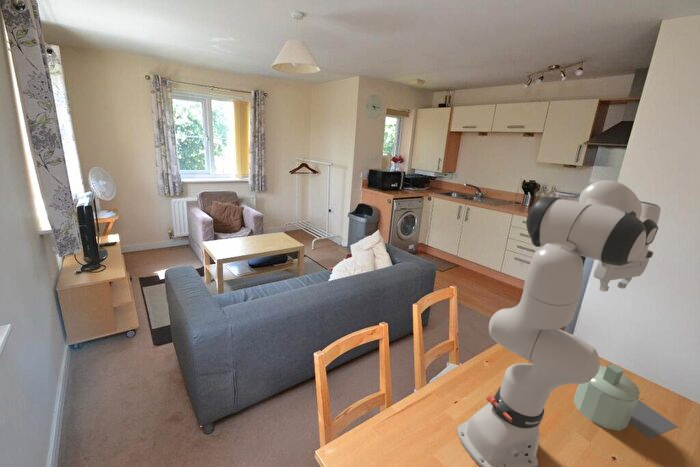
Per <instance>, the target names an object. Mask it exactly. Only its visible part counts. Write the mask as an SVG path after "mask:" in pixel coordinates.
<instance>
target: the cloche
mask: <svg viewBox="0 0 700 467" xmlns="http://www.w3.org/2000/svg"><path fill="white" fill-rule="evenodd" d="M624 371H625V370H623V369H622V368H621V367H619V366H617V365H615V364H614V363H612V364H611V365H610V364H609V365H607V366H603V365H600V367H599V371H598V373H597V375H596V376H595V377H594V378H593V379H592V380H590V381H589V382H586V383H583V384H577V385H578V386H577V387H576V391H575V393H574V397H573V403H574V405H575V407H576V408H577V410H578V412H580V413H581V414H582V415H583V416H584V417H586V418H587V419H588V420H589V421H591V422H592V423H594V424H596V425H599V426H600V427H602V428H604V429H607V430H612V431H618V432H619V431H622V430H624V429H626V428H628V425H629V421H630V418H631V416H632V414H633V411H634V409H635V407H636V404H637V402H638V400H640V395H641V394H640V390H639V386H637V384H635V383H634V382H633V381H632V380H631V379H630V378H629V377H627V376H626V375H625V374H623V373H624Z"/></svg>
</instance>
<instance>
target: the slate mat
mask: <svg viewBox="0 0 700 467" xmlns="http://www.w3.org/2000/svg"><path fill="white" fill-rule="evenodd" d="M628 425H630V426H632V427H633V428H634V429H635V430H637V431H638V432H640V433H641V434H642V435H644V436H645V437H646V438H648V440H652V439H654V438H656V437H658V436H661V435H663V434H665V433H667V432H670V431H671V430H674V429H676V428H678V425H676V424H675V423H673V422H672V421H671V420H669V419H667V418H666V417H665V416H664V415H661V414H660V413H659V412H658V411H656V410H654V409H653V408H651V407H650V406H648V404H646V403H644V402H643V401H641V400H640V399H639V400H638V402H637V404H636V407H635V409H634V411H633V414H632V416H631V418H630V421H629V423H628Z"/></svg>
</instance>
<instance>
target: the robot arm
mask: <svg viewBox="0 0 700 467" xmlns="http://www.w3.org/2000/svg"><path fill="white" fill-rule="evenodd" d="M660 215H661V207H660V205H657V204H655V203H650V202H648V201H647V202H646V201H641V200H640V199H639V198H638V195H636V193H635V192H634V191H633V190H632V189H631V188H629V187H628V186H627V185H624V184H623V183H621V182H619V181H616V180H611V179H609V180H608V179H606V180H605V179H603V180H599V181H594V182H592V183H590V184H589V185H587V186H586V187H585V188H584V189H582V191H581V192H580V195H579V198H578V201H575V200H569V199H562V198H561V197H557V196H544V197H541V198H540V199H538V200H537V201H536V202H534V204H532V206H531V207H530V210H529V211H528V214H527V217H526V221H525V222H526V224H525V225H526V230H527V233H528V236H529V237H530V240H531V244H532V246H534V247H536V248H538V249H537V250H536V251H535V253H534V254H533V256H532V258H531V260H530V263H529V264H528V268H527V271H526V273H525V278H524V279H525V280H524V284H523V290H522V295H521V299H520V301H519V303H518V304H517V305H515V306H512V307H507V308H501V309H499V310H497V311H496V312H494V314H492V316H491V318H490V319H489V323H488V333H489V335H490V337H491V339H492V340H494V342H496V343H498V344H499V345H500V346H502V347H503V348H504V349H505V350H507V351H509V352H510V353H512V354H514V355H516V356H519V357H521V358H523V359H525V361H528V362H530V363H523V362H521V363H520V362H519V363H514V364H511V365H510V366H508V367H507V369H506V370H505V372H504V375H503V379H502V381H501V385H500V386H499V388H498V389H497V390H496V392H495V394H494V396H493V395H492V394H488V395H487V397H486V399H485V400H486V401H487V402H488V403H487V404H485V405H484V406H483V407H482V408H480V409H479V410H478V411H477V412H475V413H474V414H473V415H471V417H470V418H469V419H468V420H466V421H465V422H463V423H460V424H459V425H458V427H457V429H456V431H457V435H458V436H457V437H458V438H459V440H460V442H461V444H462V446H463V447H464V449H465V450H466V452H467V453H468V454H469V456H470V457H471V458H472V459H473V460H474V461H475V462H476V463H477V464H478V465H479V466H480V467H538V465H539V460H538V458H537V454H538V449H539V444H540V439H541V434H540V424H541V423H542V420H543V418H544V415H545V406H546V403H547V401H548V398H549V397H550V396H551V393H553V391H554V390H555V389H557V388H559V387H562V386H564V385H573V384H576V385H578V384H583V383H586V382H589V381H590V380H592V379H593V378H594V377H595V376H596V375H597V373H598V371H599V367H600V366H601V359H600V356H599V352H598V351H597V349H596V348H595V347H593V346H592V345H590V344H589V343H587V342H586V341H584V340H582V339H581V338H579V337H578V336H576V335H574V334H571V333H570V332H568V331H564V330H562V329H561V328H565V327H566V326H567V325H569V324H571V322H573V319H574V317H575V313H576V310H577V307H578V305H579V304H578V303H579V300H580V296H581V293H582V288H583V281H584V261H583V258H582V257H584V258H588V259H592V260H596V261H598V262H597V265H596V267H595V269H594V271H593V277H594V278H595V279H597V280H599V284H600V286H599V288H598V289H599V291H602V292H603V293H604V292H608V291H609V289H610V286H609V283H610V282H611V281H615V280H620V281H618V283H617V286H616V287H617V288H620V289H621V290H622V289H626V287H627V286H628V284H629V283H630V282H631V281H632V279H633V278H635V277H641V275H642V274H644V272H645V270H646V269H647V266H648V265H649V261H650V259H651V258H653V256H654V251H652V250H650V249H649V247H650V245H652V243H653V242H654V240H655V238H656V235H657V233H658V229H659V226H658V223H659V220H660Z"/></svg>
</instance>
